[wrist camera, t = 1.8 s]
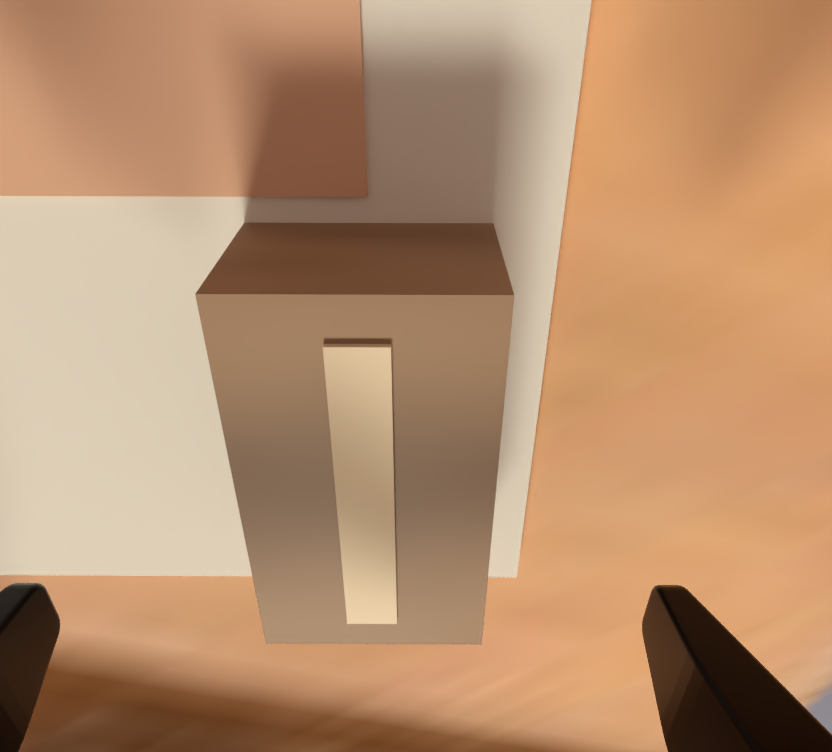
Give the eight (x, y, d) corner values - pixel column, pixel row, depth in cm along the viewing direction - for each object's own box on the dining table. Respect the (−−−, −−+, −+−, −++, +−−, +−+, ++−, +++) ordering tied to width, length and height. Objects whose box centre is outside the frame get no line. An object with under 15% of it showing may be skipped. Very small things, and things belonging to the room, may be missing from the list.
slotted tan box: (471, 536, 16) (482, 649, 13) (290, 535, 16) (264, 647, 13) (493, 223, 12) (515, 298, 9) (244, 222, 12) (193, 296, 9)
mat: (513, 559, 17) (516, 580, 17) (-7, 556, 17) (-22, 577, 17) (629, -376, 8) (645, -402, 7) (-488, -378, 8) (-561, -405, 7)
